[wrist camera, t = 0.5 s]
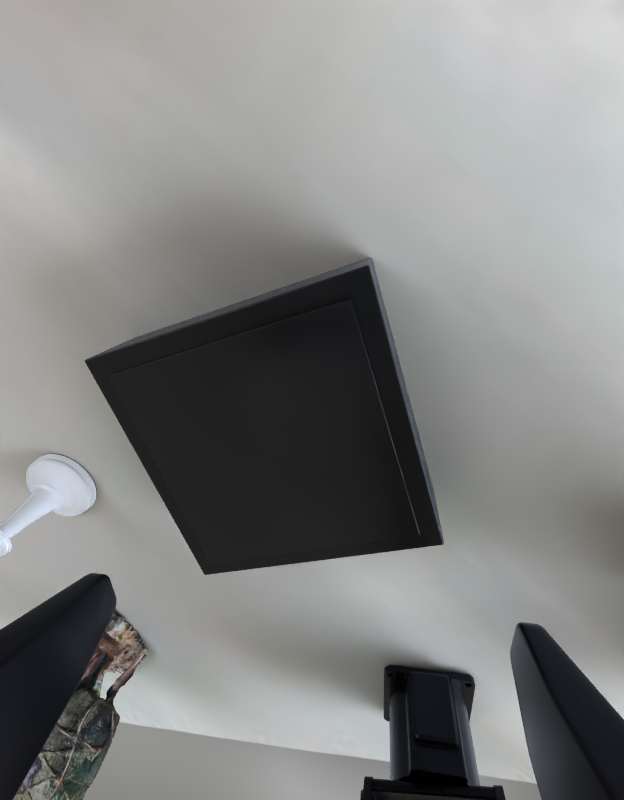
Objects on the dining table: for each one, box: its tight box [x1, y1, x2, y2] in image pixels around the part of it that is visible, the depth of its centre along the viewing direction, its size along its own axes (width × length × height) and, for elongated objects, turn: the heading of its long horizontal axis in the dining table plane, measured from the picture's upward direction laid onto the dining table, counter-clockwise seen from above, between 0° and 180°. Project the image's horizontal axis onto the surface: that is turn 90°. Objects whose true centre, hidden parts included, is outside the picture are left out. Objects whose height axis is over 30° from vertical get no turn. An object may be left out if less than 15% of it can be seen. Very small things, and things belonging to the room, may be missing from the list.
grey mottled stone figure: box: [13, 614, 148, 800], centre depth 25 cm, size 8×11×20 cm
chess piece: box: [0, 454, 96, 556], centre depth 23 cm, size 5×5×10 cm
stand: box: [85, 258, 444, 575], centre depth 21 cm, size 14×14×4 cm
